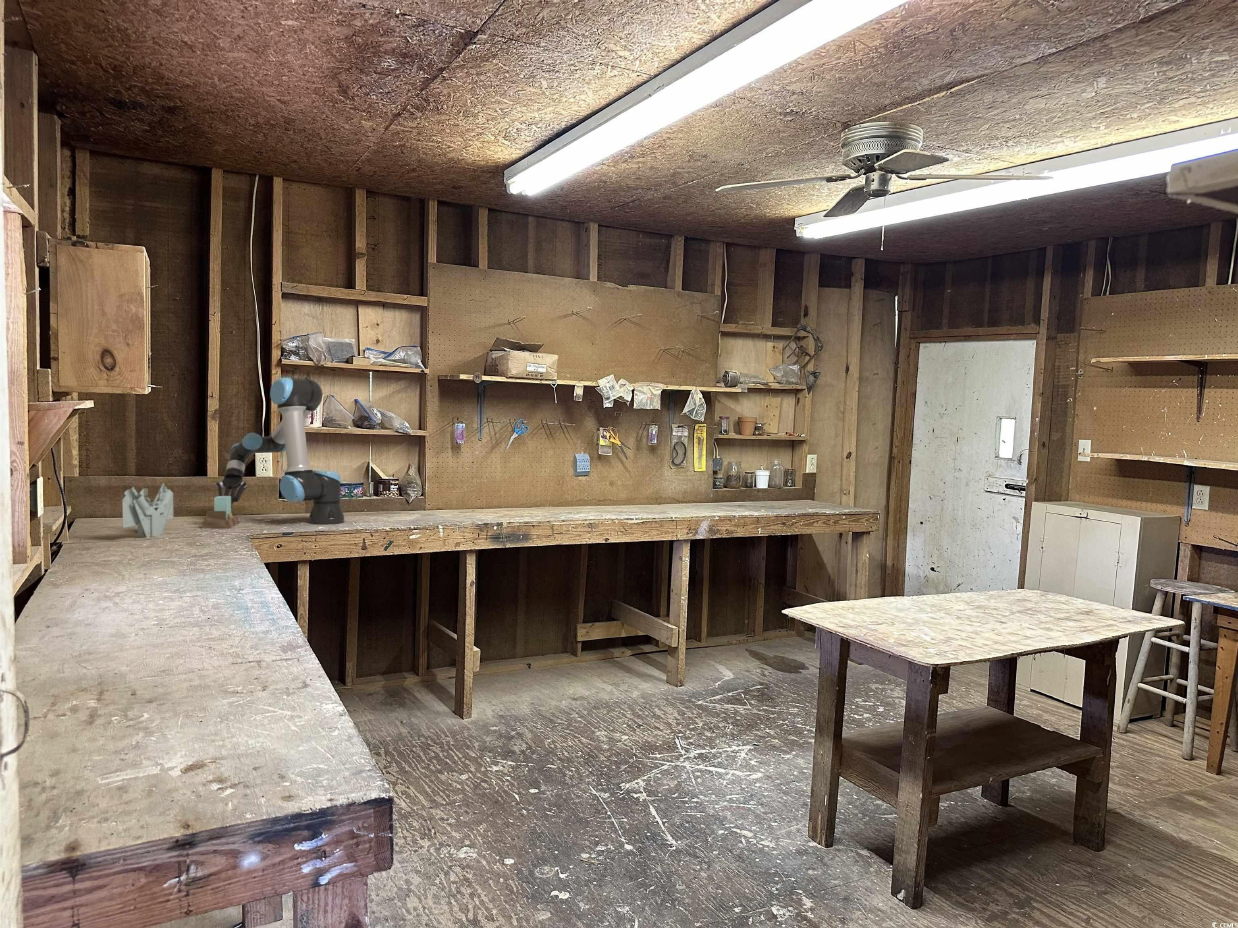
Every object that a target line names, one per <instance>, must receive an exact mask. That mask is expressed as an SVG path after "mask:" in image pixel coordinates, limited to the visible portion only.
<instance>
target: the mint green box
mask: <svg viewBox="0 0 1238 928" xmlns="http://www.w3.org/2000/svg"><path fill="white" fill-rule="evenodd" d="M213 507H214V508H213V511H226V520H228V514H229V513H232V508H231V496H230V495H229V496H224V495H223V496H219V495H218V496H215V497H213Z"/></svg>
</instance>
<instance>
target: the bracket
mask: <svg viewBox="0 0 1238 928" xmlns="http://www.w3.org/2000/svg"><path fill="white" fill-rule="evenodd" d="M148 489H149V488H146V487H145V488H142V489H141V491H140V492H139V493H138V492H137V490H136V489H135V487H134V486H132V488H128V489H126V491H124V495H125V496H124V497H123V499H122V500H121V501H122V503H121V505H122V508H121V509H122V528H123V529H124V528H129V527H133V526H134V527H136V526H137V537H141V536H145V538H146V537H147V538H154V537H153V536H155V537H159V535H160V534H163V533H164V530H165V526H166V524H167V521H169V520H173V519H174V492H173V491H171V489H170V488H169V489H168V488H167V485H166V486H165V483H162V484H161V487H160V489H159V491H158V492H157V495H156V496H155V498H154V499H153V502H151V499H150V498H149V497H146V496H147V495H148V493H149V492H148ZM150 536H151V537H150ZM160 536H161V535H160Z"/></svg>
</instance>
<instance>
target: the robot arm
mask: <svg viewBox="0 0 1238 928" xmlns="http://www.w3.org/2000/svg"><path fill="white" fill-rule="evenodd" d="M269 391H270V392H269V395H270V400H271V401H272V403H273V404H274V405H277V410H278V411H279V413H281V415H282V417H281V418H282V419H281V421H280V422H279V423H278V424H277V426H276V427H275V429H274V430H273V431H272V432H271V434H270V435H269V436H261V435H260V434H258V433H256V432H250V433H248V434H246V435H245V436H244V437H243V438H242V440H241V441H240V442H237V443H234V444H233V445H232V446H231V449H230V452H229V456H228V461H227V465H226V468H225V473H224V476H223V477H224V478H223V479H222V481H221V482H218V481H217V482H216V487H217V490H218V496H231V509H232V508H233V504H234V503H238V502H239V500H240V498H242V497H241V496H242V495H243V493H244V491H245V490H246V489H247V488H248V483H247V482H244V481H243V478H244V473H245V469H246V466H247V461H248V460H249V458H250V457H251V456H253V455H254V454H263V453H264V454H266V453H273V454H274V453H283V452H285V453H286V464H287V468H286V469H285V470H284V476H282V477H281V478H280V481H279V490H280V493H281V495H282V496H283V498H285V499H286V501H288V502H291V503H292V502H293V503H294V502H295V503H299V502H300V503H301V502H306V501H308V502H309V501H310V502H311V501H312V507H311V511H310V513H309V516H308V523H309V522H310V523H309V524H313V523H314V524H317V525H331V524H332V525H333V524H334V525H335V524H341V523H344V522H345V514H344V512H343V509H342V506H341V483H342V481H341V474H340V473H339V472H336V471H335V472H334V471H328V470H327V471H326V470H317V469H316V470H314V469H313V468H312V467H310V466H309V456H308V447H307V446H308V445H307V438H306V437H307V436H306V427H305V426H306V425H305V420H306V419H307V418H308V416H309V415H310V414H311V412H315V411H316V410H317V409H318V408H319V406H320V405H321V403H322V400H323V394H324V393H323V390H322V388H321V385H320V384H319V383H318V382H317V381H315V380H314V379H311V378H297V377H279V378H276V379H275V381H273V383H272V385H271V387H270V390H269ZM223 487H224V488H225V489H224V494H223ZM314 524H313V525H314Z"/></svg>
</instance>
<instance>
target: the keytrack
mask: <svg viewBox="0 0 1238 928" xmlns="http://www.w3.org/2000/svg"><path fill="white" fill-rule="evenodd" d="M239 524H240V520H239V516H237V515H235V516H233V513H232V512H231V513H229V514H228V520H226V511H214V510H208V511H206V513H205V520H203V523H202V525H201V529H202V528H211V529H232V528H234V527H235V526H238V525H239ZM233 526H234V527H233Z"/></svg>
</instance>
